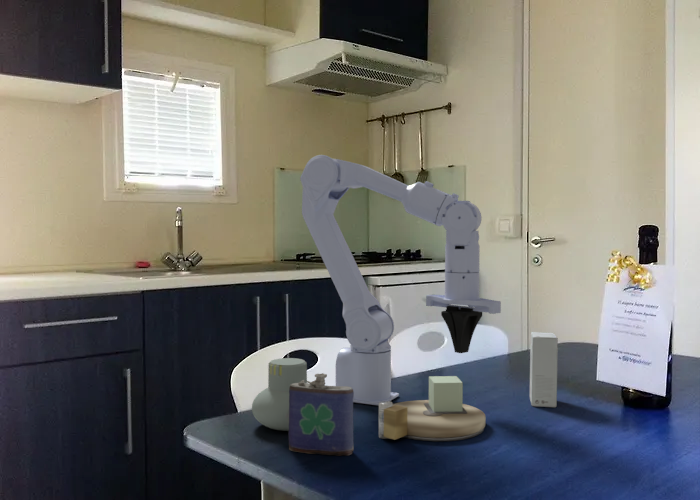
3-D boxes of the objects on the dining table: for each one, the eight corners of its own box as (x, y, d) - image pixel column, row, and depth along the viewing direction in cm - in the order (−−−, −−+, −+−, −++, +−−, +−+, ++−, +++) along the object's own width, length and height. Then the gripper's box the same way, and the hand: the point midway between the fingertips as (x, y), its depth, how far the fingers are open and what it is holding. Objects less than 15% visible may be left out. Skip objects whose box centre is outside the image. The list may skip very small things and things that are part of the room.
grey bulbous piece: (297, 413, 109) (297, 353, 109) (332, 424, 103) (331, 360, 103) (242, 427, 102) (242, 362, 101) (276, 439, 96) (276, 371, 95)
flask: (355, 450, 91) (355, 373, 91) (349, 457, 88) (349, 377, 88) (292, 444, 94) (291, 369, 93) (284, 451, 91) (284, 373, 90)
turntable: (372, 408, 110) (372, 384, 110) (470, 406, 111) (470, 382, 111) (384, 439, 94) (385, 411, 94) (499, 437, 95) (499, 409, 95)
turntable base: (361, 435, 98) (361, 401, 98) (403, 406, 113) (403, 377, 113) (464, 451, 91) (464, 414, 91) (494, 418, 106) (495, 387, 106)
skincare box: (557, 408, 113) (558, 337, 112) (531, 406, 114) (532, 336, 113) (553, 399, 119) (554, 332, 118) (529, 397, 119) (529, 331, 119)
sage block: (428, 404, 108) (428, 376, 107) (456, 403, 108) (456, 376, 108) (433, 411, 103) (433, 382, 103) (462, 411, 103) (462, 382, 103)
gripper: (414, 270, 115) (414, 348, 116) (482, 275, 104) (481, 361, 105) (441, 269, 120) (440, 344, 120) (508, 273, 109) (508, 355, 109)
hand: (461, 352), depth 113 cm, fingers closed
